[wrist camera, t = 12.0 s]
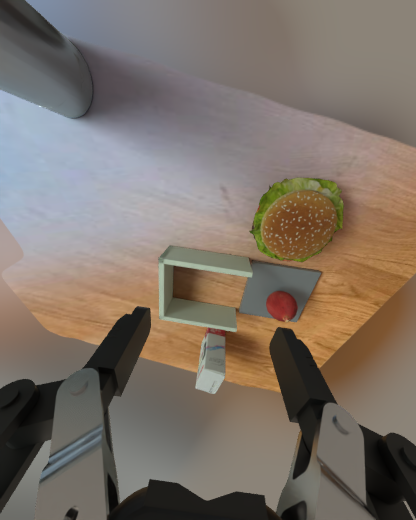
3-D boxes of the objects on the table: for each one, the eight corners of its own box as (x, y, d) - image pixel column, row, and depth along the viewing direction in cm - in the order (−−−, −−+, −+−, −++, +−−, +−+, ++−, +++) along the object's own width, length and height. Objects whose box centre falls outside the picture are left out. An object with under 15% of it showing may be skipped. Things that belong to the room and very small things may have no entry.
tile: (238, 309, 41) (239, 312, 40) (252, 260, 34) (253, 262, 34) (294, 319, 40) (296, 322, 39) (318, 270, 34) (321, 272, 33)
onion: (292, 284, 35) (310, 310, 28) (286, 305, 37) (300, 334, 30) (265, 282, 35) (275, 307, 28) (260, 303, 38) (269, 331, 31)
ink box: (209, 323, 44) (203, 368, 33) (226, 328, 44) (226, 374, 33) (201, 343, 47) (194, 389, 37) (217, 348, 48) (214, 395, 37)
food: (346, 195, 28) (388, 200, 21) (295, 262, 34) (314, 283, 27) (275, 160, 27) (293, 152, 19) (236, 235, 33) (239, 250, 26)
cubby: (168, 299, 41) (159, 319, 36) (169, 245, 35) (158, 258, 29) (234, 310, 41) (236, 332, 35) (248, 257, 34) (252, 272, 28)
